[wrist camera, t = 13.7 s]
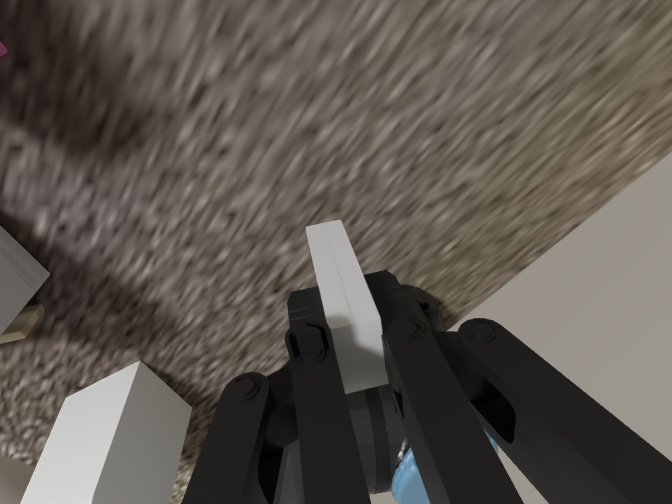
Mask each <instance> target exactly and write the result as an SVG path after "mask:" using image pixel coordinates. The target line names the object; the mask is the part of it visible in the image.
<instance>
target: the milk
mask: <svg viewBox="0 0 672 504" xmlns="http://www.w3.org/2000/svg"><path fill="white" fill-rule="evenodd" d="M191 412H192V407H191V406H190V405H188V404H187V403H186V402H185V401H184V400H183V399H182V398H181V397H180V396H179V395H178V394H176V393H175V392H174V391H173V390H172V389H171V388H170V387H169V386H168V385H167V384H165V383H164V382H163V381H162V380H161V379H160V378H159V377H158V376H157V375H156V374H155V373H153V372H152V371H151V370H150V369H149V368H148V367H147V366H146V365H145V364H144V363H142V362H141V361H138V362H136V363H134V364H132V365H130V366H128V367H126V368H124V369H122V370H120V371H118V372H116V373H114V374H112V375H110V376H108V377H106V378H104V379H102V380H100V381H98V382H96V383H94V384H92V385H91V386H89V387H87V388H85V389H83V390H81V391H79V392H77V393H75V394H73V395H71V396H69V397H67V398H66V399H65V401H64V403H63V406H62V408H61V410H60V413H59V415H58V417H57V420H56V422H55V424H54V427H53V429H52V431H51V434H50V436H49V438H48V440H47V443H46V445H45V447H44V450H43V452H42V454H41V457H40V459H39V461H38V464H37V466H36V468H35V471H34V473H33V475H32V478H31V480H30V482H29V485H28V487H27V489H26V492H25V494H24V497H23V499H22V501H21V503H20V504H169V503H170V499H171V495H172V490H173V486H174V482H175V478H176V474H177V470H178V466H179V461H180V457H181V453H182V449H183V445H184V441H185V437H186V432H187V428H188V424H189V420H190V416H191Z"/></svg>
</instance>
